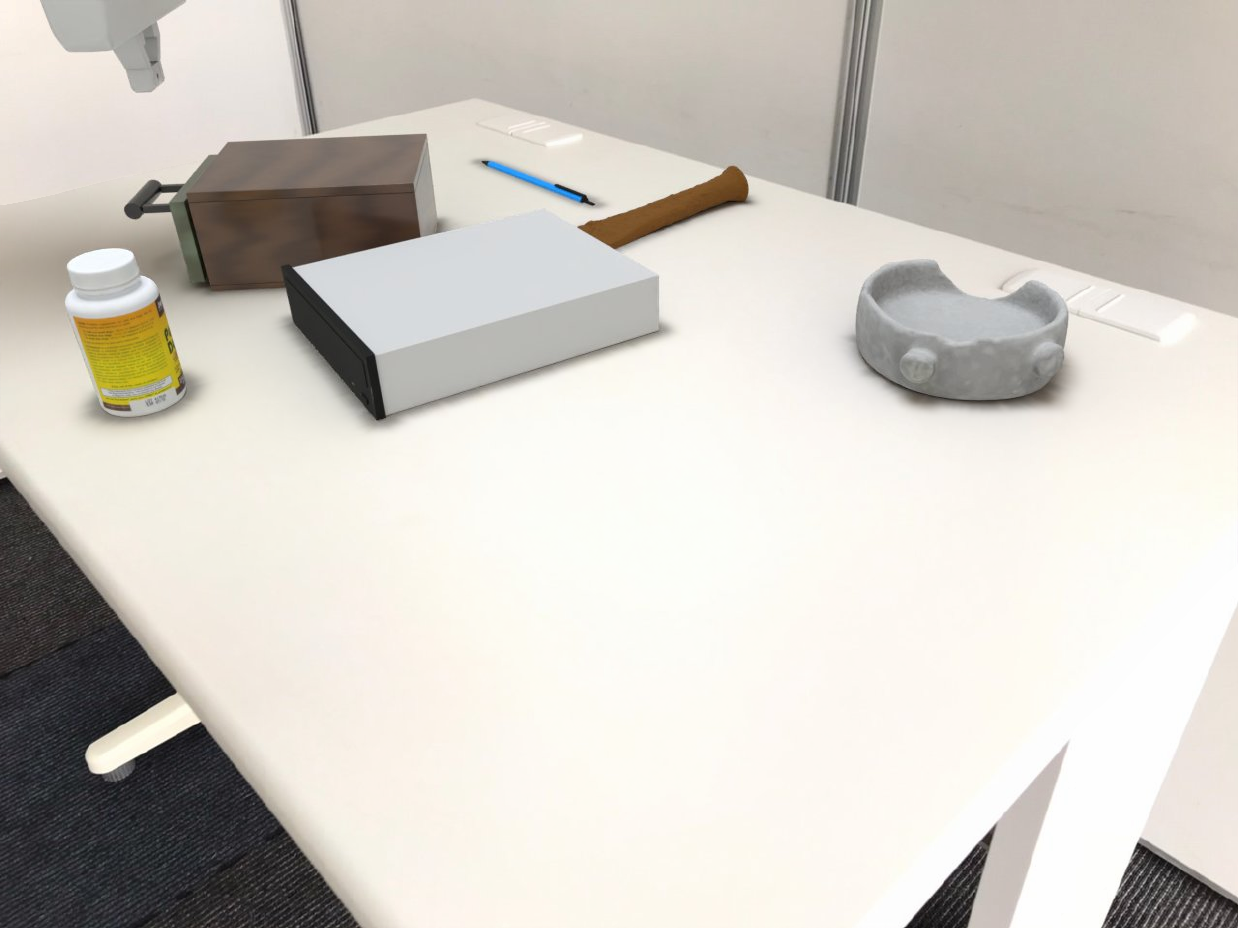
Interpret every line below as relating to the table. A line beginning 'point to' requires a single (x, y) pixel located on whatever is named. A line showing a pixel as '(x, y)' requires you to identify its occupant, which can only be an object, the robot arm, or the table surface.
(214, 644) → the table surface
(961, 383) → the dish
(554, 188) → the pen
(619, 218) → the primitive tool
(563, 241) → the disc drive
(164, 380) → the supplement bottle
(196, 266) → the drawer
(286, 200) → the cabinet
